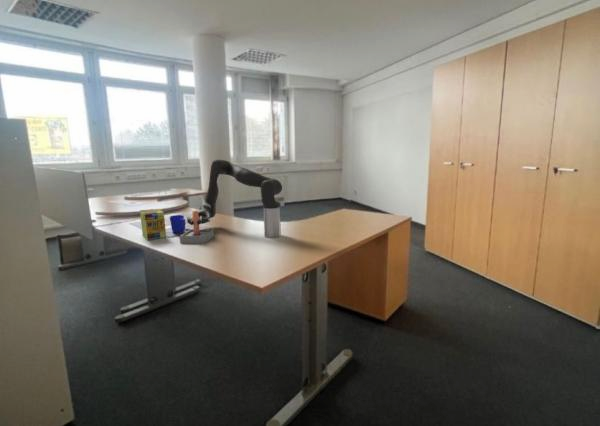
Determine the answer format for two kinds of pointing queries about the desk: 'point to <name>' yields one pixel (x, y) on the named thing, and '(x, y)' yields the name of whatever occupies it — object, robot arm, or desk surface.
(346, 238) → the desk surface
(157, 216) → the protein box
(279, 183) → the robot arm
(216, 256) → the desk surface
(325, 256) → the desk surface
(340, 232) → the desk surface
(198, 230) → the peg
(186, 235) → the grey square hole base
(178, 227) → the mug
